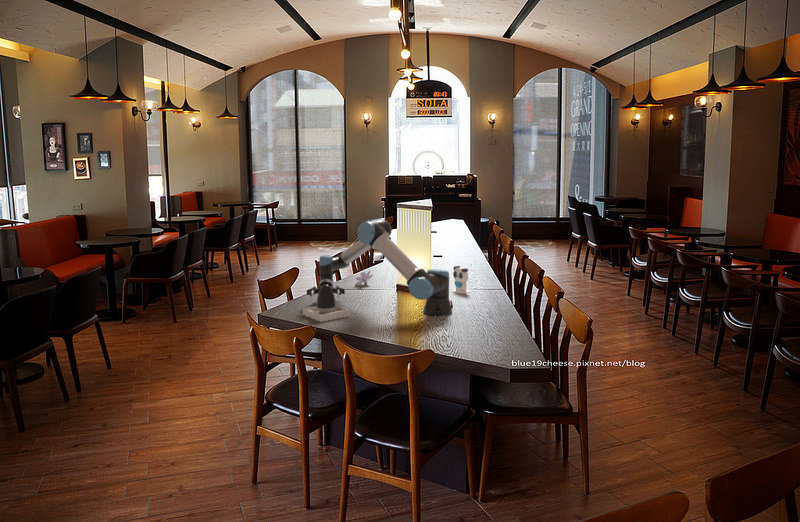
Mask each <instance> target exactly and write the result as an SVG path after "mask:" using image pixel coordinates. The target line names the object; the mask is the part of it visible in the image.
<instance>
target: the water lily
mask: <svg viewBox="0 0 800 522" xmlns="http://www.w3.org/2000/svg"><path fill="white" fill-rule="evenodd" d="M371 272H372V271H371V270H368V272H366V271H363V272H360V276H357V277H355V278H354V279H355V280H356V281H357V282H356V283H355V285H354V286H355V287H357V286H359V285H361V284H362V283H363V284H365V285H366V287H369V285H368V280H369V279H371V278H373V276H374V274H371Z"/></svg>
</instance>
